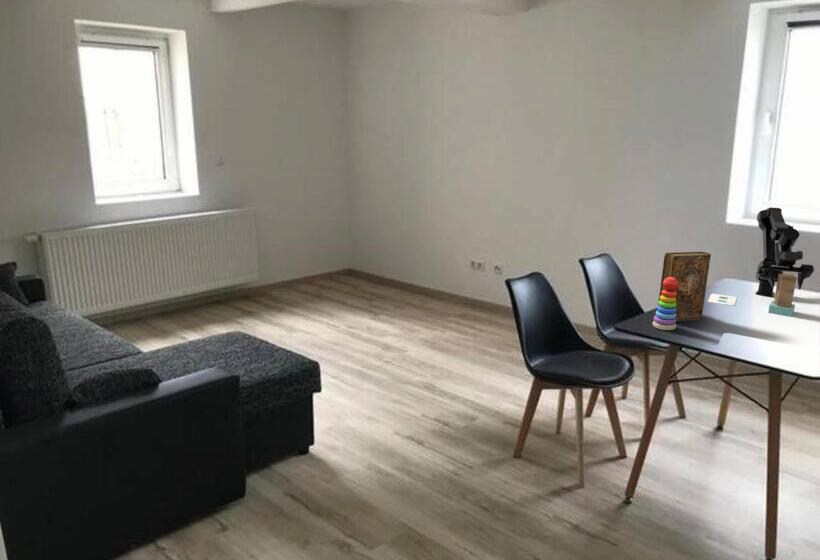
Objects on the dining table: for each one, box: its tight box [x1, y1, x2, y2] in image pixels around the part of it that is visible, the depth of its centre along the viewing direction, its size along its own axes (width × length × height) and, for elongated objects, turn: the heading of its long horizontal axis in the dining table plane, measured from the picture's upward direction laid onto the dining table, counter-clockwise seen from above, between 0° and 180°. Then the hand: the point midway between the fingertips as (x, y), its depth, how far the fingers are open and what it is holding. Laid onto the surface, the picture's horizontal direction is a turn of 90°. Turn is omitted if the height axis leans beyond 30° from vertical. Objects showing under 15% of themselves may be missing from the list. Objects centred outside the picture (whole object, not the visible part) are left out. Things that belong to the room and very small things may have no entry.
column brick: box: [773, 273, 798, 307], centre depth 254 cm, size 5×5×12 cm
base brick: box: [768, 300, 796, 318], centre depth 256 cm, size 8×8×3 cm
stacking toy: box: [652, 277, 678, 331], centre depth 233 cm, size 8×8×19 cm
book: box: [656, 251, 712, 322], centre depth 243 cm, size 16×6×25 cm, turn 102°
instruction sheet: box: [707, 293, 738, 306], centre depth 271 cm, size 14×10×1 cm
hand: (786, 287), depth 252 cm, fingers open, 9 cm apart
